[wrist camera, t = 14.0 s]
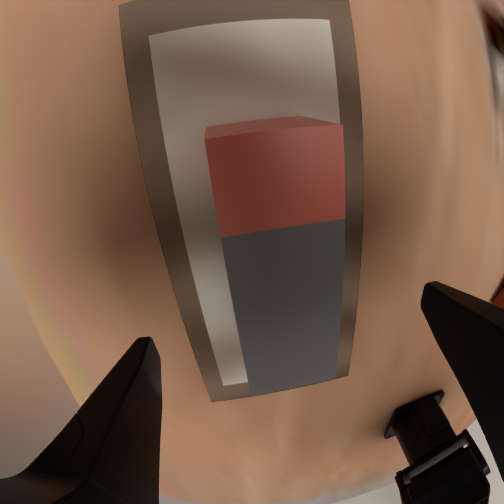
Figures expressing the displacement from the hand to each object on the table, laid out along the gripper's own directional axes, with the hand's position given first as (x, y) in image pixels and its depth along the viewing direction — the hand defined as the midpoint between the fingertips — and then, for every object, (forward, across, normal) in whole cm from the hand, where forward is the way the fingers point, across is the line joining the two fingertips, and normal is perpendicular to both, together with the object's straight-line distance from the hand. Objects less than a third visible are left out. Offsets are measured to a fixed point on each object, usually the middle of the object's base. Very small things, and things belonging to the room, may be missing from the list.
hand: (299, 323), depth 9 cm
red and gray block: (+6, 0, 0) cm, 6 cm away
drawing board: (+8, 0, 0) cm, 8 cm away
